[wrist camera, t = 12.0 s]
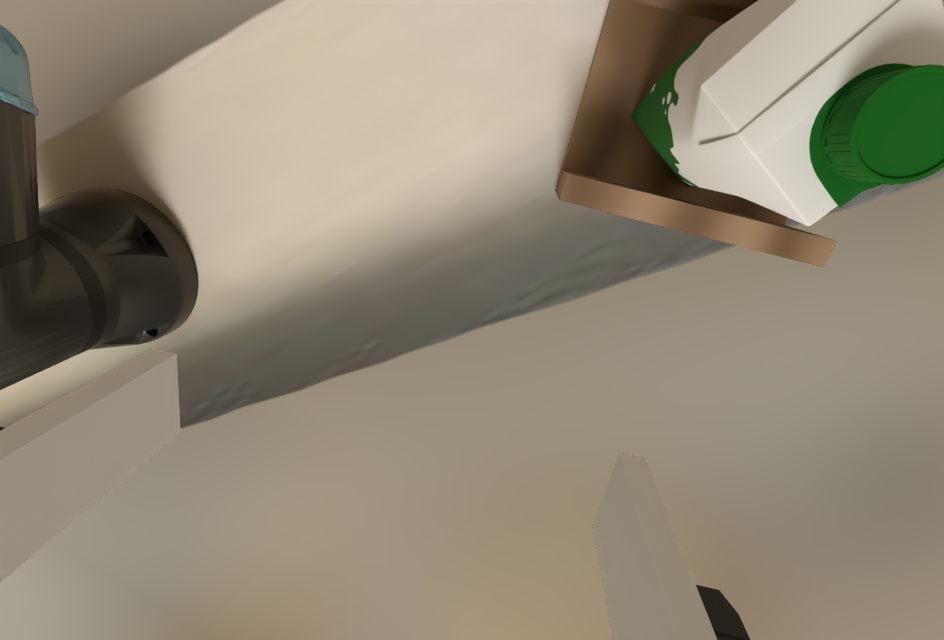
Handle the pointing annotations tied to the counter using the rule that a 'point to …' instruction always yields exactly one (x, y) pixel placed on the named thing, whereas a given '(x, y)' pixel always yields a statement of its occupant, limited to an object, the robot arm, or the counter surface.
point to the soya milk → (805, 103)
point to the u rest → (635, 159)
